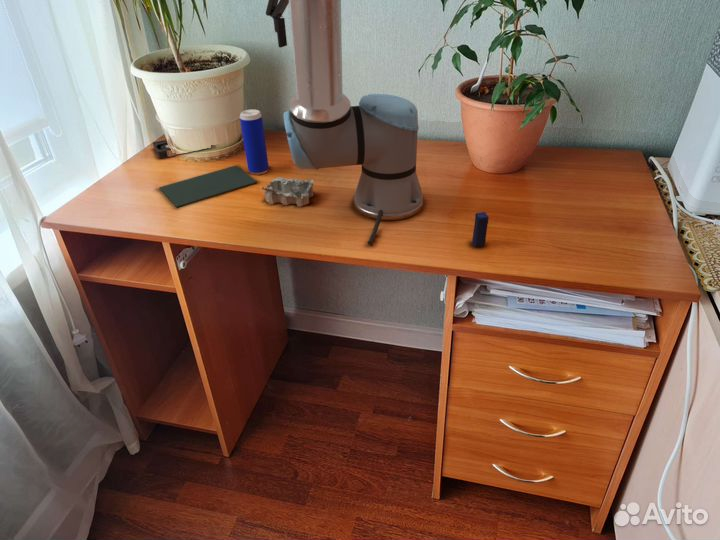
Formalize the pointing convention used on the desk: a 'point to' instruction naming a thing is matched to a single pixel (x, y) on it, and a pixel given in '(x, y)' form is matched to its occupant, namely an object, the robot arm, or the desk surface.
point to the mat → (207, 186)
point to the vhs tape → (163, 149)
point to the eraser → (480, 229)
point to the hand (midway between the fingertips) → (304, 48)
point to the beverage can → (254, 141)
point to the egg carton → (289, 191)
